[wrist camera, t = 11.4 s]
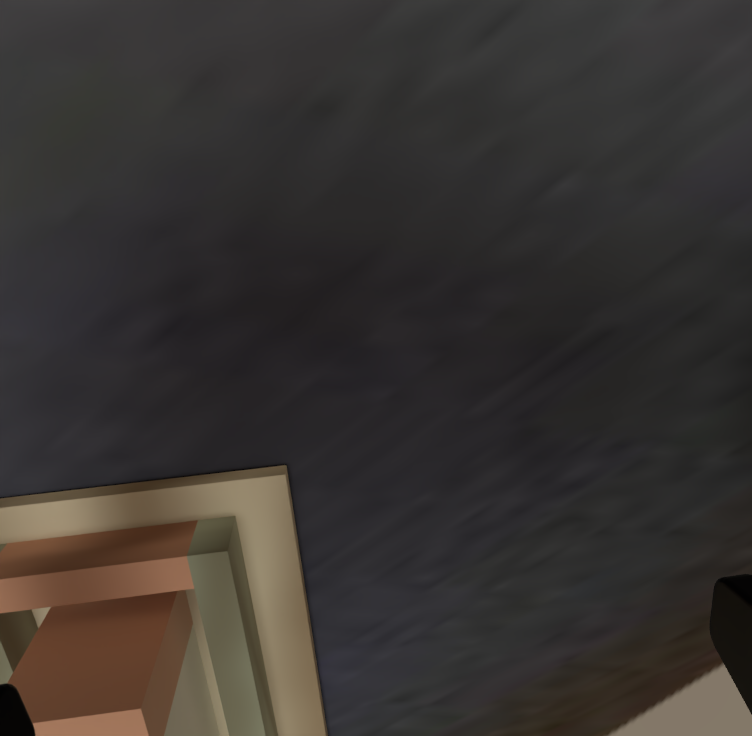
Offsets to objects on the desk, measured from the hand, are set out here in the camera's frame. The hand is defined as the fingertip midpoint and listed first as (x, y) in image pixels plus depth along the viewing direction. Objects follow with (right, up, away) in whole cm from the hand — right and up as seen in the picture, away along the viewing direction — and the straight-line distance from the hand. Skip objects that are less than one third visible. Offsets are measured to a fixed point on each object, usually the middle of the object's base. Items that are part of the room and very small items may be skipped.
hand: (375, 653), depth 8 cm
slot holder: (-8, -8, +14) cm, 18 cm away
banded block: (-8, -8, +14) cm, 18 cm away
